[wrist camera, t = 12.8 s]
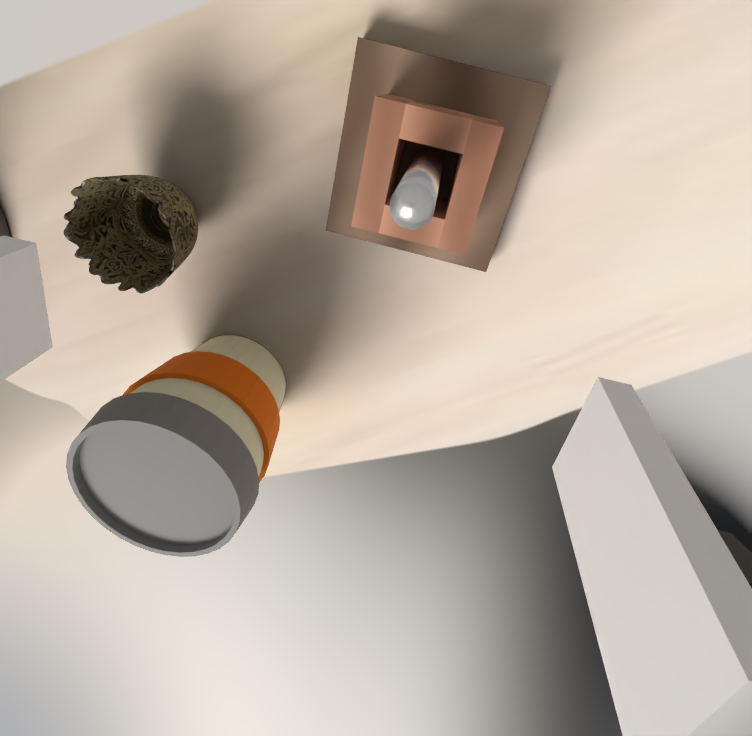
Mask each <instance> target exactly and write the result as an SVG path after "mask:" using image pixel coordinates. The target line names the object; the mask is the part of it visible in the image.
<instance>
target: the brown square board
mask: <svg viewBox="0 0 752 736" xmlns="http://www.w3.org/2000/svg"><path fill="white" fill-rule="evenodd" d="M550 87H551V86H548V85H545V84H541V83H537V82H533V81H529V80H525V79H521V78H517V77H513V76H509V75H505V74H501V73H497V72H493V71H490V70H486V69H482V68H478V67H474V66H470V65H466V64H462V63H458V62H454V61H450V60H446V59H442V58H439V57H435V56H431V55H427V54H423V53H419V52H415V51H411V50H407V49H403V48H399V47H395V46H391V45H387V44H384V43H380V42H376V41H372V40H368V39H364V38H360V37H358V40H357V46H356V52H355V59H354V65H353V71H352V77H351V83H350V89H349V95H348V101H347V107H346V113H345V119H344V125H343V131H342V137H341V143H340V149H339V155H338V161H337V167H336V173H335V179H334V185H333V191H332V197H331V203H330V209H329V215H328V221H327V227H326V230H327V231H331V232H335V233H339V234H343V235H346V236H350V237H354V238H358V239H362V240H366V241H369V242H373V243H377V244H381V245H385V246H389V247H392V248H396V249H400V250H404V251H408V252H412V253H415V254H419V255H423V256H427V257H431V258H435V259H438V260H442V261H446V262H450V263H454V264H458V265H461V266H465V267H469V268H473V269H477V270H481V271H484V272H486V271H487V268H488V265H489V262H490V259H491V256H492V253H493V251H494V248H495V245H496V242H497V239H498V236H499V233H500V230H501V228H502V225H503V222H504V219H505V216H506V213H507V210H508V208H509V205H510V202H511V199H512V196H513V193H514V190H515V187H516V185H517V182H518V179H519V176H520V173H521V170H522V167H523V165H524V162H525V159H526V156H527V153H528V150H529V147H530V144H531V142H532V139H533V136H534V133H535V130H536V127H537V124H538V122H539V119H540V116H541V113H542V110H543V107H544V104H545V101H546V99H547V96H548V93H549V90H550ZM385 94H391V95H395V96H399V97H403V98H407V99H412V100H416V101H420V102H424V103H428V104H432V105H436V106H440V107H444V108H448V109H452V110H456V111H461V112H465V113H469V114H473V115H477V116H481V117H485V118H489V119H493V120H497V121H498V122H499V123H500V124H501V125H502V126H503V127H504V130H503V133H502V137H501V140H500V143H499V146H498V149H497V153H496V156H495V159H494V162H493V166H492V169H491V172H490V175H489V179H488V182H487V185H486V188H485V192H484V195H483V198H482V201H481V204H480V208H479V211H478V214H477V217H476V221H475V224H474V227H473V230H472V234H471V237H470V240H469V243H468V246H467V250H466V253H465V255H464V254H460V253H456V252H452V251H448V250H444V249H440V248H436V247H432V246H428V245H424V244H420V243H416V242H412V241H408V240H404V239H400V238H396V237H392V236H388V235H384V234H380V233H376V232H372V231H368V230H364V229H360V228H356V227H352V226H351V225H352V219H353V214H354V208H355V203H356V197H357V192H358V186H359V181H360V175H361V170H362V164H363V159H364V153H365V148H366V142H367V137H368V131H369V126H370V120H371V115H372V109H373V104H374V98H375V96H379V95H385ZM423 149H433V150H435V151H437V152H438V153H439V154H440V156H441V157H442V160H443V168H442V173H441V179H440V184H439V189H438V194H437V197H441V198H445V199H447V198H448V194H449V190H450V187H451V183H452V179H453V176H454V172H455V168H456V165H457V161H458V157H459V154H460V153H456V152H452V151H448V150H444V149H440V148H436V147H432V146H428V145H424V144H420V143H416V142H412V141H408V140H406V143H405V147H404V152H403V156H402V161H401V165H400V170H399V175H398V179H397V184H396V186H398V185H399V183H400V181H401V180H402V178H403V176H404V174H405V173H406V171H407V169H408V168H409V166H410V164H411V163H412V161H413V159H414V158H415V156H416V155H417V153H418V152H420V151H421V150H423Z"/></svg>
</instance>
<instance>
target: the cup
mask: <svg viewBox="0 0 752 736" xmlns="http://www.w3.org/2000/svg"><path fill="white" fill-rule="evenodd" d="M71 194H72V195H73V196H75V197H76V196H77V197H78V198H77V199H76V200H75V201H74V208H73V209H72V210H71V211H69V212H68V213H66V214H65V215H64V219H65V220H68V221H69V223H68V225H67V226H66V228H65V229H64V235H65V237H66V238H67V239H68V240H70V241H71V242H73V243H75V244H77V245H78V246H79V249H78V250H76V253H75V257H77V258H81V259H86V258H87V259H91V261H90V263H89V265H90V267H89V272H90V273H91V274H93V275H99V276H101V282H102V283H104V284H115V283H119V282H121V284H120V286H119V287H118V289H119V290H120V291H126V290H128V289H130V288H134V289H136V291H137V292H138V293H145V292H147V291H149V290H151V289H153V288H154V287H156V286H157V287H158V286H160V285H161V284H163V283H164V282H165V280H166V279H167V278H168V277H169V276H170V275H171V274H172V273H173V272H174V271H175V270H176V269H177V268H178V267H179V266H180V265H181V264H182V263H183V261H184V260H185V259H186V258H187V257H188V255H189V254H190V253H191V251H192V249H193V247H194V245H195V243H196V240H197V234H198V222H197V215H196V210H195V207H194V205H193V203H192V202H191V200H190V199H189V198H188V197H187V196H186V195H185V194H183V193H182V192H181V191H180V190H179V189H178V188H177V187H175V186H174V185H172V184H171V183H169V182H167V181H165V180H163V179H160V178H157V177H153V176H147V175H122V176H109V177H95V178H90V179H87V180H85V181H83V183H82V184H81V186H79V187H75V188H74V189H73V190H72V191H71Z"/></svg>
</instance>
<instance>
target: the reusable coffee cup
mask: <svg viewBox="0 0 752 736" xmlns="http://www.w3.org/2000/svg"><path fill="white" fill-rule="evenodd" d="M285 390H286V382H285V376H284V373H283V370H282V368H281V366H280V365H279V363H278V361H277V360H276V359H275V357H274V356H273V355H272V354H271V353H270V352H269V351H268V350H267V349H265V348H264V347H263V346H261V345H260V344H258V343H256V342H255V341H252V340H250V339H248V338H245V337H240V336H236V335H223V336H217V337H214V338H211V339H209V340H208V341H206V342H205V343H203V344H202V345H200V346H199V347H197V348H196V349H194V350H193V351H191V352H188V353H183V354H181V355H178V356H175V357H173V358H172V359H170V360H169V361H167V362H166V363H164V364H163V365H161V366H160V367H158V368H157V369H155V370H154V371H152V372H151V373H149V374H147V375H146V376H144V377H143V378H141V379H140V380H138V381H137V382H135V383H134V384H133V385H131V386H130V387H129V388H128V389H127V390H126V392H125V393H124V394H123V395H122V396H120V397H117V398H114V399H113V400H111V401H110V402H108V403H107V404H105V405H104V406H102V407H101V409H100V410H99V411H98V412H97V413H96V415H95V416H94V417H93V418H92V419H91V421H90V422H89V423H88V424H87V425H86V427H85V428H84V429H83V430H82V431H81V433H80V434H79V435H78V436H77V437H76V439H75V440H74V441H73V442H72V444H71V446H70V449H69V451H68V454H67V464H66V468H67V473H68V479H69V481H70V484H71V486H72V489H73V491H74V493H75V495H76V496H77V498H78V499H79V501H80V502H81V504H82V506H83V507H84V508H85V509H86V510H87V511H88V512H89V513H90V515H91V516H92V517H93V518H94V519H96V520H97V521H98V522H99V523H100V524H101V525H102V526H104V527H105V528H106V529H108V530H109V531H110V532H112V533H113V534H115V535H117V536H118V537H119V538H121V539H123V540H125V541H127V542H129V543H131V544H133V545H135V546H138V547H140V548H143V549H146V550H148V551H152V552H156V553H160V554H164V555H171V556H181V557H183V556H198V555H203V554H207V553H210V552H212V551H215V550H217V549H220V548H221V547H222V546H224V545H225V544H226V543H228V542H229V541H230V539H231V538H232V537H233V535H234V534H235V533H236V531H237V530H238V528H239V527H240V525H241V524H242V522H243V521H244V519H245V518H246V516H247V515H248V513H249V511H250V510H251V509H252V507H253V506H254V503H255V500H256V498H257V495H258V489H259V482H260V481H261V480H262V478H263V477H264V475H265V473H266V470H267V467H268V464H269V461H270V458H271V454H272V451H273V448H274V445H275V441H276V438H277V435H278V431H279V424H280V416H279V412H280V408H281V405H282V402H283V399H284V396H285Z"/></svg>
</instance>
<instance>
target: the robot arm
mask: <svg viewBox="0 0 752 736" xmlns="http://www.w3.org/2000/svg"><path fill="white" fill-rule="evenodd" d="M50 348H52V341H51V334H50V328H49V322H48V315H47V309H46V303H45V296H44V290H43V284H42V277H41V271H40V264H39V258H38V252H37V245H36V243H33V242H29V241H25V240H21V239H17V238H12V237H10V235H9V230H8V227H7V224H6V221H5V218H4V215H3V213H2V211H1V208H0V382H1V381H2V380H4V379H5V378H7V377H8V376H10V375H11V374H13V373H14V372H16V371H17V370H19V369H20V368H22V367H23V366H25V365H26V364H28V363H29V362H31V361H32V360H34V359H35V358H37V357H38V356H40V355H41V354H43V353H44V352H46V351H47V350H49V349H50ZM552 468H553V472H554V476H555V480H556V483H557V487H558V491H559V495H560V498H561V502H562V506H563V510H564V514H565V518H566V521H567V525H568V529H569V533H570V537H571V540H572V544H573V548H574V552H575V556H576V559H577V563H578V567H579V570H580V575H581V578H582V582H583V586H584V590H585V594H586V598H587V601H588V605H589V609H590V613H591V617H592V620H593V624H594V628H595V632H596V636H597V639H598V643H599V647H600V651H601V655H602V658H603V662H604V666H605V670H606V674H607V677H608V681H609V685H610V689H611V693H612V696H613V700H614V704H615V708H616V712H617V715H618V719H619V723H620V727H621V731H622V735H623V736H752V553H751V552H750V551H749V550H748V549H747V548H746V547H745V546H744V545H743V544H742V543H741V542H740V541H739V540H738V539H737V538H736V537H735V536H734V535H733V534H731V533H728V532H724V531H719V530H717V529H716V527H715V526H714V524H713V522H712V520H711V519H710V517H709V515H708V514H707V512H706V510H705V509H704V507H703V505H702V504H701V502H700V500H699V499H698V497H697V495H696V493H695V492H694V490H693V488H692V487H691V485H690V483H689V482H688V480H687V479H686V477H685V475H684V473H683V472H682V470H681V468H680V467H679V465H678V463H677V461H676V460H675V458H674V456H673V455H672V453H671V451H670V450H669V448H668V446H667V445H666V443H665V441H664V439H663V438H662V436H661V434H660V433H659V431H658V429H657V428H656V426H655V425H654V423H653V421H652V419H651V418H650V416H649V414H648V413H647V411H646V409H645V407H644V406H643V404H642V402H641V401H640V399H639V397H638V396H637V394H636V392H635V391H634V389H633V387H632V385H629V384H625V383H620V382H616V381H612V380H608V379H604V378H599V377H598V378H597V380H596V382H595V384H594V386H593V388H592V390H591V392H590V394H589V396H588V398H587V400H586V402H585V404H584V406H583V408H582V410H581V412H580V414H579V416H578V418H577V420H576V421H575V424H574V425H573V428H572V429H571V431H570V433H569V435H568V437H567V439H566V441H565V443H564V445H563V447H562V449H561V451H560V453H559V455H558V457H557V459H556V461H555V463H554V465H553V467H552Z"/></svg>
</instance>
